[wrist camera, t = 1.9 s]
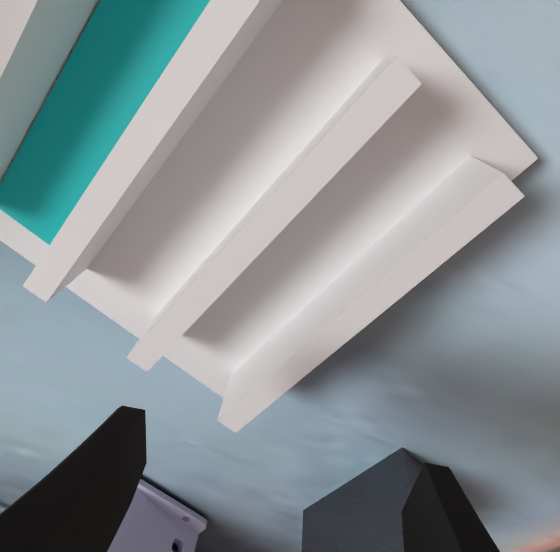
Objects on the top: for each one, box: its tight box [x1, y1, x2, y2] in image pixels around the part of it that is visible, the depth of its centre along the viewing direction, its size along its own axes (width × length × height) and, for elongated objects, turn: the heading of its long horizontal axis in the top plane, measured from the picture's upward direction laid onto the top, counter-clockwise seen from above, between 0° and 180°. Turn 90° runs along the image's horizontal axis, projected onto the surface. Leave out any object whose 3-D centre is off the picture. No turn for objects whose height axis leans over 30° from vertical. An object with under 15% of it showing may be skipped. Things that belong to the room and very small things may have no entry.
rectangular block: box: [302, 448, 423, 552], centre depth 22 cm, size 2×8×6 cm, turn 139°
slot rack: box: [0, 0, 538, 433], centre depth 14 cm, size 21×17×4 cm
